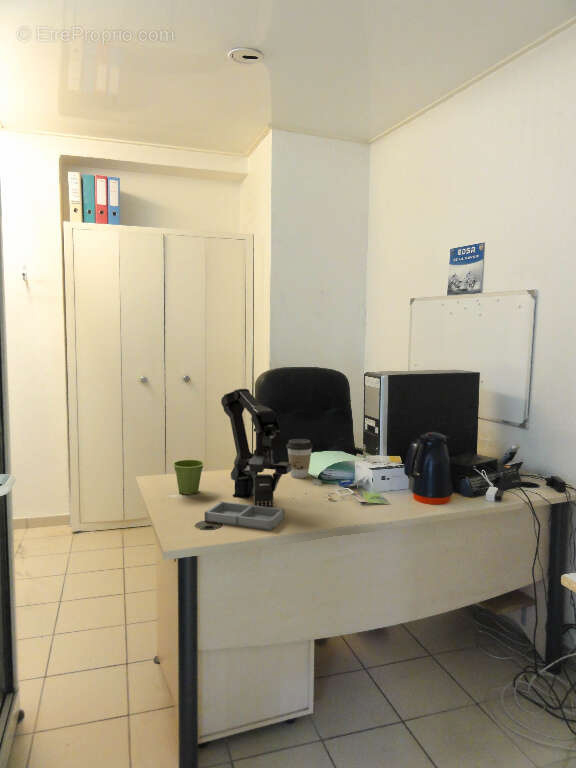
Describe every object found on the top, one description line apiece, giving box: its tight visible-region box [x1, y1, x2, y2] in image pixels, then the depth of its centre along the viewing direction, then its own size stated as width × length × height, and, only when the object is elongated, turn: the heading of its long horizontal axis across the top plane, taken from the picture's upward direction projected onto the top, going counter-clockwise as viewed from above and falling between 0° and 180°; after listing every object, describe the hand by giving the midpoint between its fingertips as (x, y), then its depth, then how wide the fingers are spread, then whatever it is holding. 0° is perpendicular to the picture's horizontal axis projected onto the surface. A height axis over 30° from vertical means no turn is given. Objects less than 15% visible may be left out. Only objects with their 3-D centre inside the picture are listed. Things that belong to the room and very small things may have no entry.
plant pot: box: [172, 459, 205, 495], centre depth 204 cm, size 12×12×11 cm
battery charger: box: [253, 473, 274, 508], centre depth 188 cm, size 7×4×11 cm, turn 96°
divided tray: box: [204, 501, 285, 532], centre depth 176 cm, size 23×12×3 cm, turn 71°
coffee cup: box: [285, 438, 314, 479], centre depth 229 cm, size 11×11×15 cm
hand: (263, 490), depth 188 cm, fingers open, 7 cm apart
